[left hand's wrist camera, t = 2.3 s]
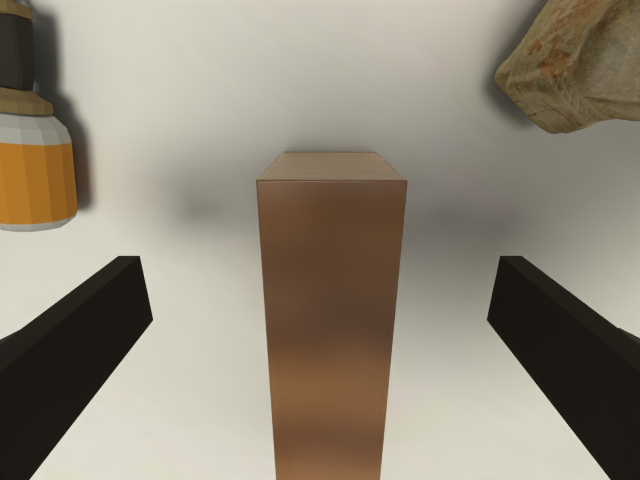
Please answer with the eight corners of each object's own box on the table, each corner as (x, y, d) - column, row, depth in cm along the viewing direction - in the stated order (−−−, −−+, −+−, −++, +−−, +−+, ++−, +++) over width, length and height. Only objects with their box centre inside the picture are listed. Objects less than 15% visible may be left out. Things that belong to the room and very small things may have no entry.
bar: (283, 152, 19) (255, 179, 12) (376, 152, 19) (408, 180, 12) (294, 448, 28) (282, 575, 20) (358, 450, 28) (371, 577, 20)
